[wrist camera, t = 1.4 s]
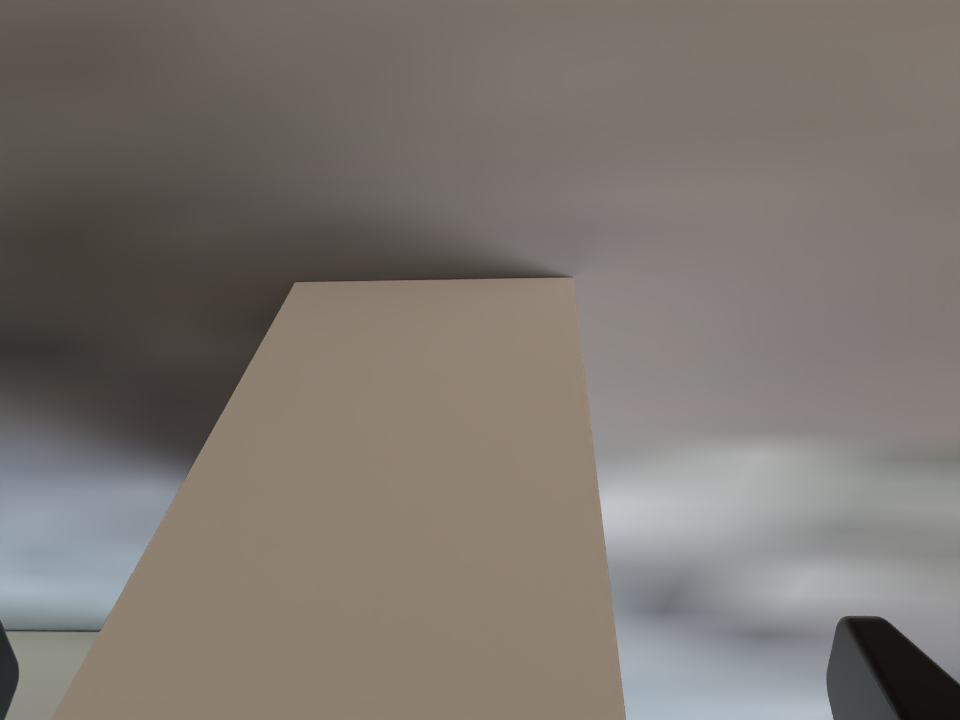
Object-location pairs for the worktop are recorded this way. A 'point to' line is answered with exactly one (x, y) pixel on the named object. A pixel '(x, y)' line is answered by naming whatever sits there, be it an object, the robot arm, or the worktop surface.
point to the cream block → (381, 525)
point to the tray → (45, 670)
